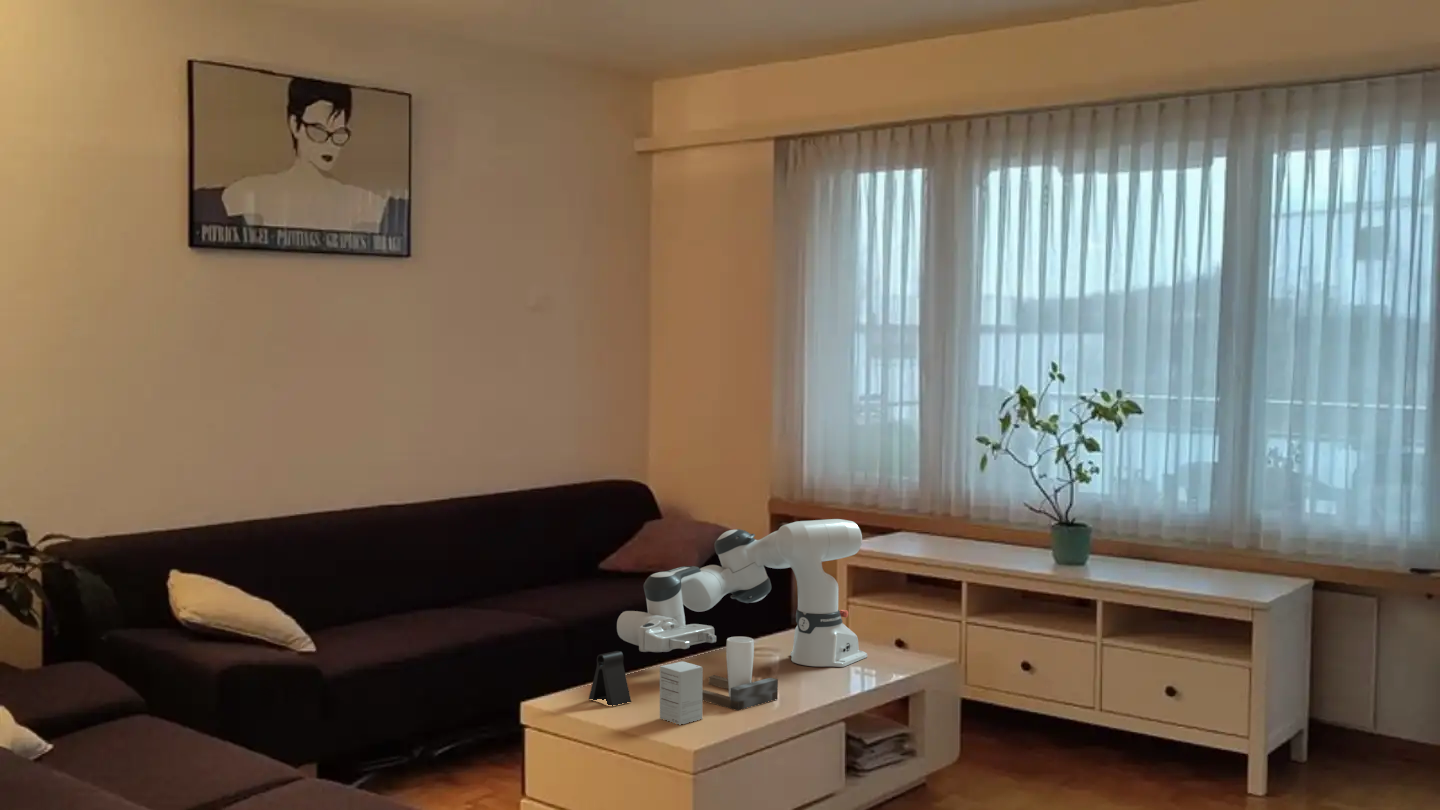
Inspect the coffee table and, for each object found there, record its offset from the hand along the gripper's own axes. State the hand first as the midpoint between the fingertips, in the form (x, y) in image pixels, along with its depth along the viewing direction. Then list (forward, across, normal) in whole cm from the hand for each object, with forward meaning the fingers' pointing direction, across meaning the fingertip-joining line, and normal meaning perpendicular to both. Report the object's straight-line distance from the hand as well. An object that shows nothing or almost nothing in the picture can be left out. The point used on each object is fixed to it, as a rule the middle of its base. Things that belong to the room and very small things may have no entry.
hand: (701, 642), depth 342 cm
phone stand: (-7, +24, -12) cm, 28 cm away
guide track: (+9, 0, -12) cm, 15 cm away
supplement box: (+16, +22, -12) cm, 30 cm away
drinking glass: (+13, 0, -12) cm, 18 cm away
